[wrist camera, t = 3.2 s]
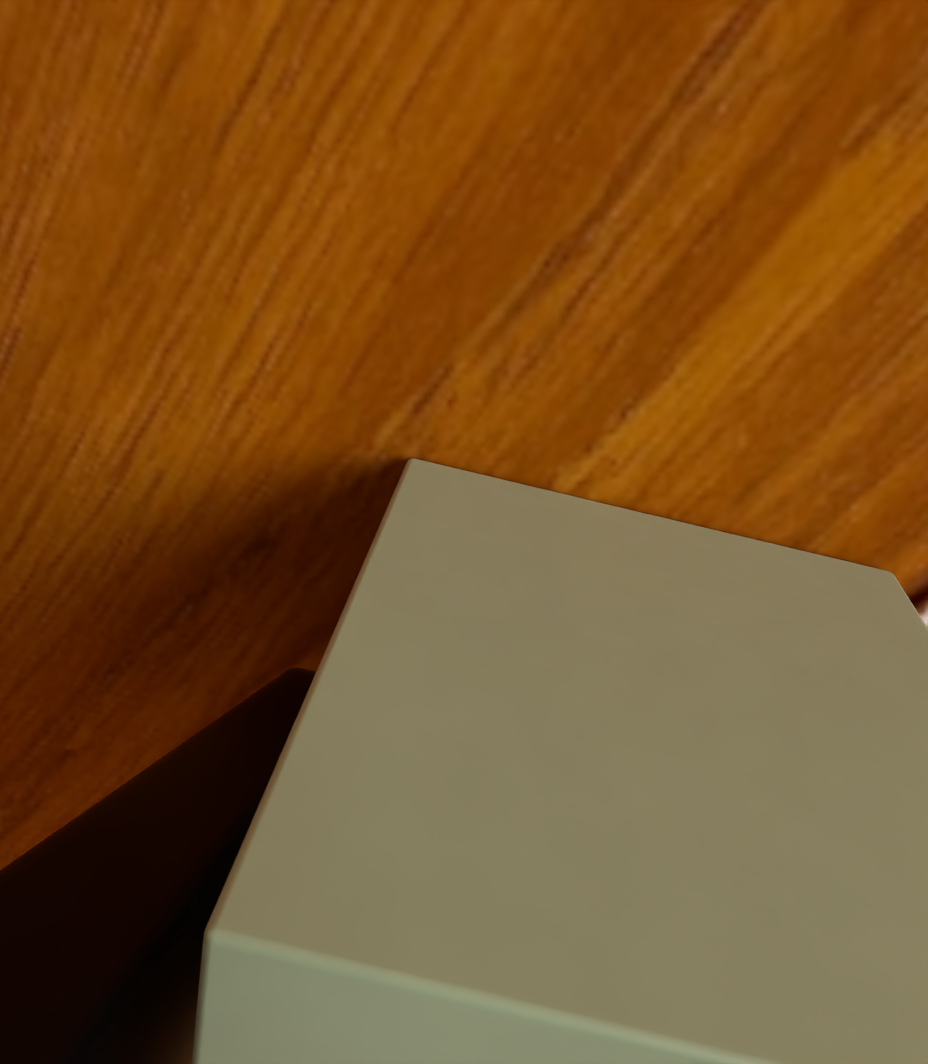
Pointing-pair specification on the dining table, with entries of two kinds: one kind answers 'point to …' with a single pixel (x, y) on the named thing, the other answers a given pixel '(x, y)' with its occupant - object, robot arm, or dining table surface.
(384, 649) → the green letter i block
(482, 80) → the dining table surface
